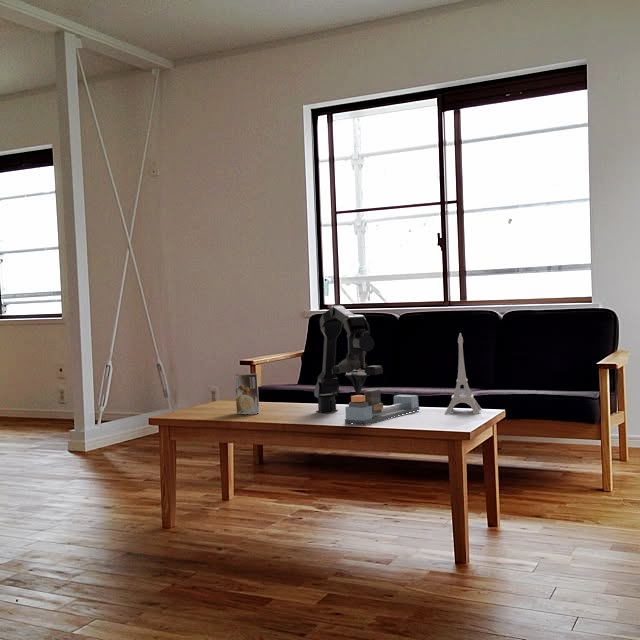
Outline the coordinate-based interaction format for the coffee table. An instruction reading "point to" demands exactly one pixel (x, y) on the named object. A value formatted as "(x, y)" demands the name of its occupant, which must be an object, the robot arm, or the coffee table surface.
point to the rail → (363, 412)
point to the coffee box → (247, 393)
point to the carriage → (374, 400)
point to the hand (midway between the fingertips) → (358, 393)
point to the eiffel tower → (462, 381)
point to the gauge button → (358, 398)
